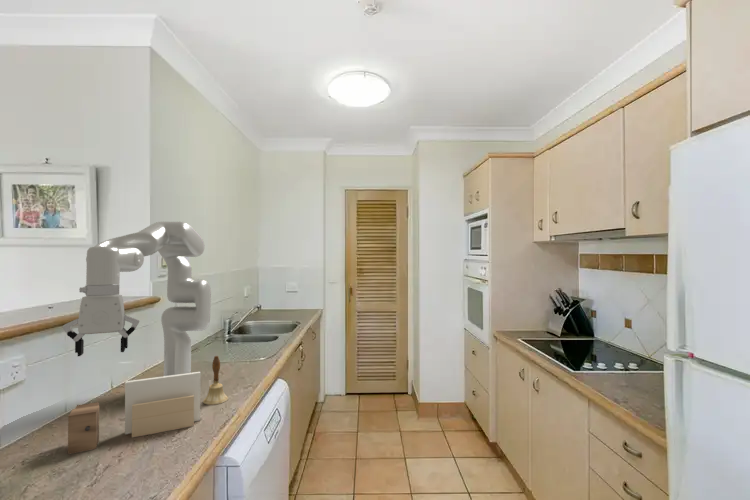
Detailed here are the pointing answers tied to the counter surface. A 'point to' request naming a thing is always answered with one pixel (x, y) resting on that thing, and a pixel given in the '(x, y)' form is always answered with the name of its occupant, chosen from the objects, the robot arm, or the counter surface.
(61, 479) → the counter surface
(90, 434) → the wall box
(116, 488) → the counter surface
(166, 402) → the wall board
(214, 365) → the hand bell
